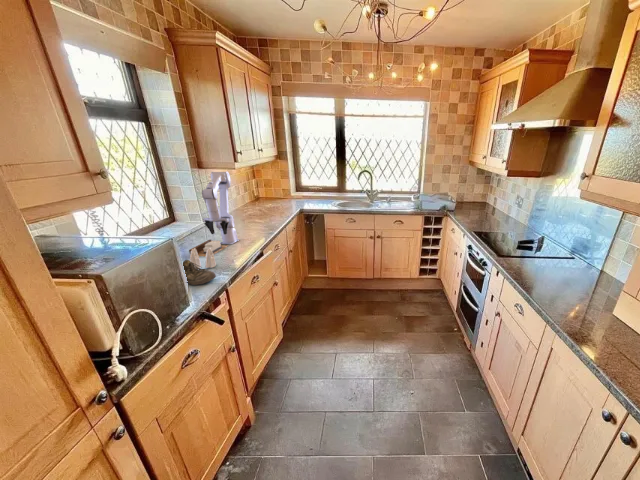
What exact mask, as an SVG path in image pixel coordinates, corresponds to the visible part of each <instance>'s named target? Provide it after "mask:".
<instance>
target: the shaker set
mask: <svg viewBox="0 0 640 480" xmlns="http://www.w3.org/2000/svg"><path fill="white" fill-rule="evenodd" d="M193 248H194V247H193ZM191 249H192V248H191ZM189 256H190V257H189V260H190V262H192V263H195V264H197V265H199V266H201V267H202V266H203V265H202V263H201V259H200V256H198V253H197V250H196V249H195V248H194V250H193V249H192V250H191V254H190V253H189ZM216 262H217V261H216V259H215V254H214V255H213V252H212V250H211V248H209V249H207V252H206V256H205V266H204V269H209V268H211V269H212V268H215V267H216V266H217V263H216ZM195 264H194V265H195ZM197 265H195V266H197ZM195 266H194V267H195ZM199 266H197V267H198V268H200V269H201V267H199Z"/></svg>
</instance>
